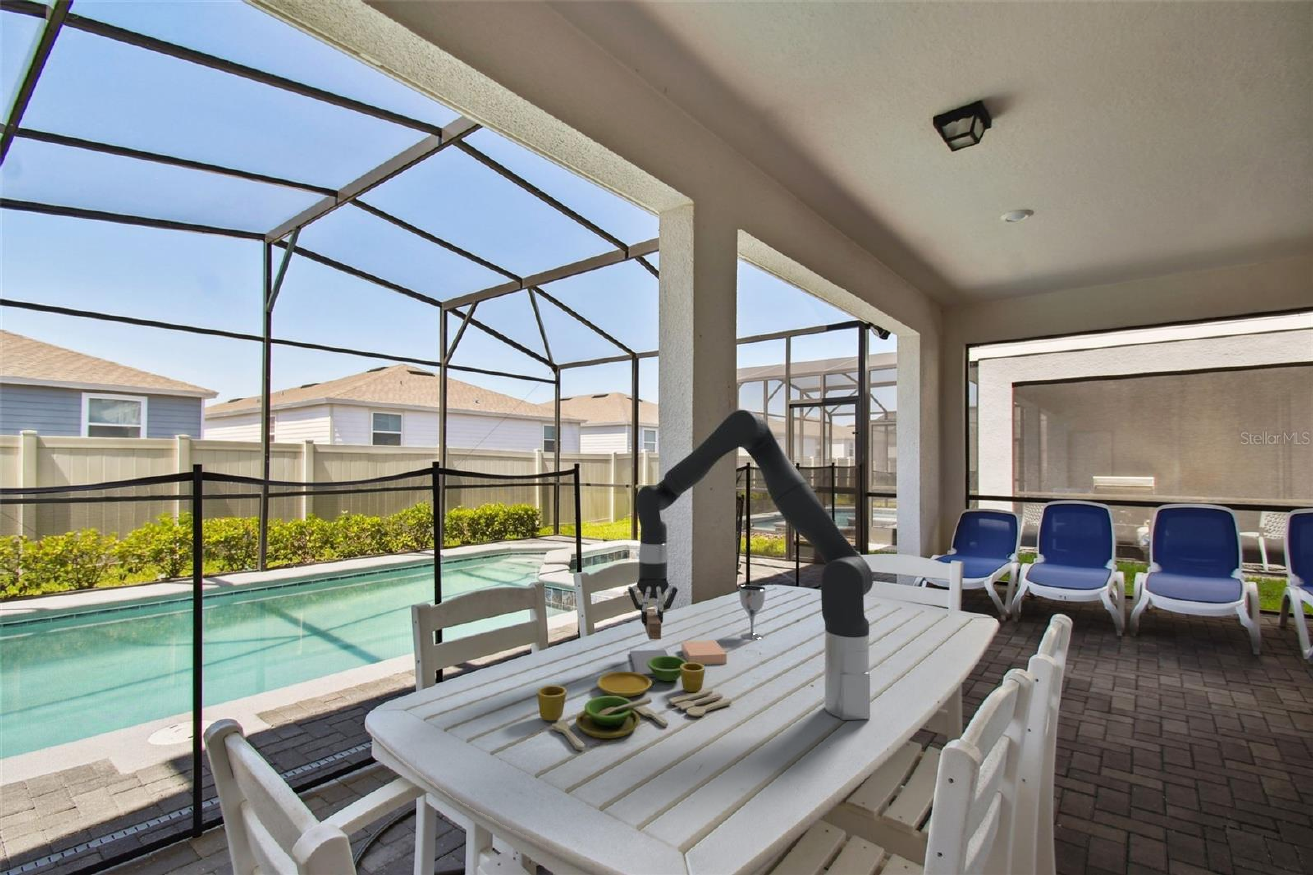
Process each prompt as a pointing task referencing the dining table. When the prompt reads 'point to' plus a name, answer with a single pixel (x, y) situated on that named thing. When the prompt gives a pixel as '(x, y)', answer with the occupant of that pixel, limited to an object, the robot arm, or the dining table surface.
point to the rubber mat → (645, 660)
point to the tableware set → (617, 712)
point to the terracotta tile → (704, 652)
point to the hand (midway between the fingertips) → (652, 624)
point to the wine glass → (752, 606)
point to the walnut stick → (653, 625)
